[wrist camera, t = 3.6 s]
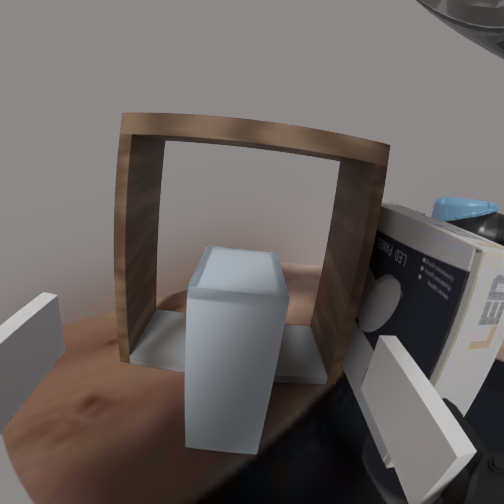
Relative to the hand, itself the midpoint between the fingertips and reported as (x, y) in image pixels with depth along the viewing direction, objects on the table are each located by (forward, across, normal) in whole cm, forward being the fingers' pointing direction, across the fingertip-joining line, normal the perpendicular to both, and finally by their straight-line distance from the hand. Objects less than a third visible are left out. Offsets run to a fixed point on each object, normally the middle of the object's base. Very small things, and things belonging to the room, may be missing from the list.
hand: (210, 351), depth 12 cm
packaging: (+20, +18, -16) cm, 31 cm away
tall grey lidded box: (+12, +1, -15) cm, 19 cm away
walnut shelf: (+24, +1, -15) cm, 28 cm away
